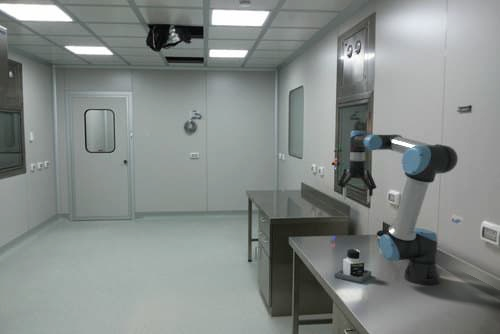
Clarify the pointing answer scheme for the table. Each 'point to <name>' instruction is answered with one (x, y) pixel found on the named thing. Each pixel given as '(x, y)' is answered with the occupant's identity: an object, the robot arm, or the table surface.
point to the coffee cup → (381, 235)
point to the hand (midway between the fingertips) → (356, 200)
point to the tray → (341, 275)
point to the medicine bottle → (353, 263)
